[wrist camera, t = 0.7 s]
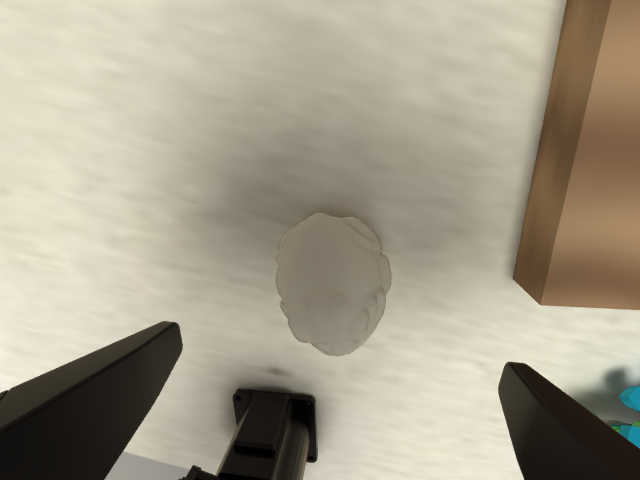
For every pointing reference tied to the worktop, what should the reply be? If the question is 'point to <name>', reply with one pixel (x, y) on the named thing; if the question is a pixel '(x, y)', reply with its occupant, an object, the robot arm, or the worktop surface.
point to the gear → (635, 432)
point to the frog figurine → (332, 282)
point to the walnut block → (588, 166)
